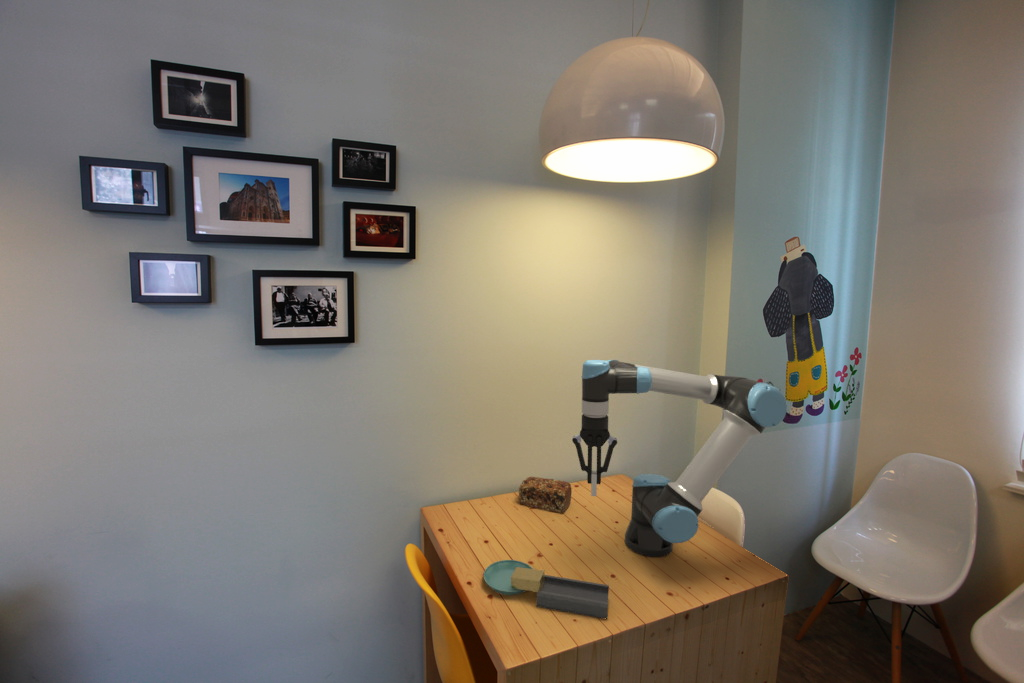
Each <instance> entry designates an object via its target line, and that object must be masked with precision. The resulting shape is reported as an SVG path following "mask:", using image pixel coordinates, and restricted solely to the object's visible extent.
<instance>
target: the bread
mask: <svg viewBox="0 0 1024 683" xmlns="http://www.w3.org/2000/svg"><path fill="white" fill-rule="evenodd" d="M521 482H522V483H521V484H520V486H519V488H518V502H519V505H520V506H525V507H527V508H532V509H538V510H542V511H547V512H550V513H551V512H552V513H557V514H559V513H560V514H563V513H565V512H566V511H567V509H568V508H570V505H571V500H572V492H573V490H572V486H571V484H570V482H567V481H564V480H560V479H559V480H558V479H553V478H545V477H544V478H543V477H537V476H529V477H526V479H524V480H522V481H521Z"/></svg>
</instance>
